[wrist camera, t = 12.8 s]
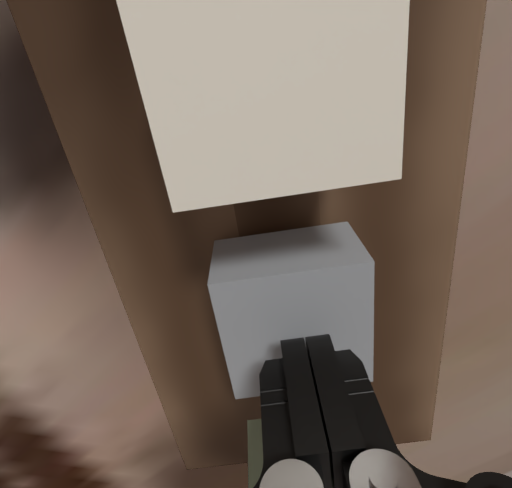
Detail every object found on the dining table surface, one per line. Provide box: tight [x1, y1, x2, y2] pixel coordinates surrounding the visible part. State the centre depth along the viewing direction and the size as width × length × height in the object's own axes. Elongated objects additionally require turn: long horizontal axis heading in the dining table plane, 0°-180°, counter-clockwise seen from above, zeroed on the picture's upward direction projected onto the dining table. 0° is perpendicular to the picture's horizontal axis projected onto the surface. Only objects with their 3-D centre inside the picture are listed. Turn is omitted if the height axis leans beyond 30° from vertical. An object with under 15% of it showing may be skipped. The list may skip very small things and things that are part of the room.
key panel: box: [6, 0, 487, 470], centre depth 16 cm, size 14×24×3 cm, turn 8°
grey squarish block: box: [207, 222, 375, 399], centre depth 14 cm, size 5×5×6 cm
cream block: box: [116, 0, 410, 213], centre depth 9 cm, size 5×5×6 cm
